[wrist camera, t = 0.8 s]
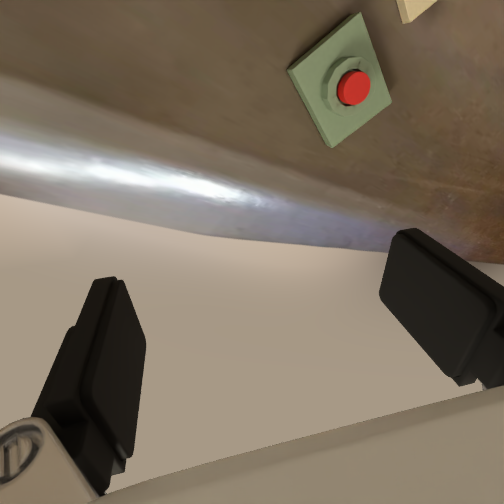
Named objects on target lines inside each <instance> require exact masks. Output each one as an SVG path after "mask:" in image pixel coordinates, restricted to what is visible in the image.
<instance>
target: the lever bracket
mask: <svg viewBox="0 0 504 504" xmlns="http://www.w3.org/2000/svg"><path fill="white" fill-rule="evenodd" d="M396 1H397V5H398V8H399V12H400V16H401V19H402V23H403V24H404V23H410V22H411V21H413V20H414V19H415V18H416V17H418V16H419V15H420V14H421V13H422V12H424V11H425V10H426V9H427V8H429V7H430V6H431V5H432V4H434V3H435V2H436V1H437V0H396Z"/></svg>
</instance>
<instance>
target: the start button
mask: <svg viewBox="0 0 504 504" xmlns="http://www.w3.org/2000/svg"><path fill="white" fill-rule="evenodd" d="M370 85H371V84H370V79H369V77H368V75H367V74H366V73H364V72H360V71H352V72H348V73H347V74H345V75H344V76H343V77H342V79H341V80H340V82H339V84H338V90H337V92H338V97H339V99H340V100H341V101H342V102H343V103H346V104H351V105H357V104H359V103H361V102H363V101H364V100H365V99H366V97H367V96H368V94H369V91H370Z"/></svg>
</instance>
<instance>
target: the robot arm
mask: <svg viewBox="0 0 504 504" xmlns="http://www.w3.org/2000/svg"><path fill="white" fill-rule="evenodd" d="M379 296H380V299H381V301H382V302H383V303H384V304H385V306H386V307H387V308H388V309H389V310H390V311H391V313H392V314H393V315H394V316H395V317H396V318H397V319H398V321H399V322H400V323H401V324H402V325H403V326H404V327H405V329H406V330H407V331H408V332H409V333H410V335H411V336H412V337H413V338H414V339H415V340H416V341H417V343H418V344H419V345H420V346H421V347H422V348H423V350H424V351H425V352H426V353H427V354H428V355H429V357H430V358H431V359H432V360H433V361H434V362H435V364H436V365H437V366H438V367H439V368H440V369H441V370H442V372H443V373H444V374H445V375H447V376H448V377H451V378H452V379H453V380H454V381H455V382H456V383H457V385H458V386H464V385H468V384H472V383H474V382H475V381H476V379H477V378H478V379H479V380H480V381H481V382H482V388H483V391H480V392H475V393H472V394H468V395H464V396H460V397H456V398H452V399H448V400H444V401H440V402H436V403H433V404H429V405H425V406H421V407H417V408H413V409H409V410H405V411H401V412H398V413H394V414H390V415H386V416H382V417H378V418H375V419H371V420H367V421H363V422H359V423H356V424H352V425H348V426H344V427H340V428H337V429H333V430H329V431H325V432H321V433H318V434H314V435H310V436H306V437H302V438H299V439H295V440H292V441H288V442H284V443H280V444H276V445H272V446H269V447H265V448H261V449H257V450H254V451H250V452H246V453H243V454H239V455H236V456H231V457H227V458H224V459H220V460H216V461H213V462H209V463H206V464H202V465H199V466H195V467H192V468H189V469H185V470H181V471H178V472H174V473H171V474H167V475H164V476H161V477H157V478H154V479H150V480H147V481H144V482H141V483H138V484H135V485H132V486H129V487H126V488H123V489H120V490H117V491H115V492H111V493H109V494H107V493H106V492H105V491H106V490H107V489H108V487H109V485H110V479H111V476H112V475H116V474H120V473H123V472H125V465H126V458H130V457H132V455H133V451H134V443H135V435H136V428H137V418H138V411H139V402H140V394H141V386H142V377H143V369H144V361H145V353H146V339H145V336H144V333H143V331H142V328H141V325H140V323H139V320H138V318H137V315H136V312H135V309H134V307H133V304H132V301H131V299H130V296H129V294H128V291H127V289H126V286H125V283H124V281H123V280H117V278H116V277H114V276H113V277H106V278H100V279H95V280H94V281H93V283H92V286H91V288H90V290H89V293H88V296H87V298H86V300H85V303H84V305H83V308H82V310H81V313H80V315H79V318H78V320H77V323H76V325H75V326H72V327H71V328H69V330H68V331H67V333H66V335H65V338H64V340H63V343H62V345H61V347H60V349H59V352H58V354H57V356H56V359H55V361H54V363H53V366H52V368H51V370H50V373H49V375H48V377H47V380H46V382H45V384H44V387H43V389H42V391H41V394H40V396H39V399H38V401H37V403H36V405H35V408H34V410H33V413H32V415H31V417H29V418H23V419H20V420H17V421H15V422H12V423H10V424H9V425H7V426H5V427H4V428H2V429H1V430H0V504H504V287H503V286H502V285H500V284H499V283H497V282H496V281H495V280H493V279H491V278H490V277H489V276H487V275H486V274H484V273H483V272H481V271H480V270H478V269H477V268H475V267H474V266H472V265H471V264H469V263H468V262H466V261H465V260H464V259H462V258H461V257H459V256H458V255H456V254H455V253H453V252H452V251H450V250H449V249H447V248H446V247H444V246H443V245H441V244H440V243H438V242H437V241H435V240H434V239H433V238H431V237H430V236H428V235H427V234H425V233H424V232H422V231H421V230H419V229H417V228H411V229H405V230H400V231H398V232H397V233H396V235H395V236H394V237H393V238H392V242H391V246H390V250H389V254H388V258H387V262H386V266H385V270H384V274H383V278H382V282H381V286H380V290H379Z"/></svg>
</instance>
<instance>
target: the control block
mask: <svg viewBox="0 0 504 504" xmlns="http://www.w3.org/2000/svg"><path fill="white" fill-rule="evenodd" d="M352 71H360V72H364V73H366V74H367V75H368V77H369V79H370V84H371V85H370V91H369V94H368V96H367V97H366V99H365V100H364V101H363V102H361V103H359V104H357V105H351V104H346V103H343V102H342V101H341V100H340V99H339V97H338V92H337V90H338V84H339V82H340V80H341V79H342V77H343V76H344V75H345V74H347V73H348V72H352ZM287 72H288V74H289V76H290V77H291V79H292V81H293V83H294V85H295V87H296V89H297V91H298V93H299V94H300V96H301V98H302V100H303V102H304V104H305V106H306V108H307V110H308V111H309V113H310V115H311V117H312V119H313V121H314V123H315V125H316V126H317V128H318V130H319V132H320V134H321V136H322V138H323V140H324V142H325V143H326V145H328V146H329V147H331V148H333V147H335V146H336V145H337V144H338V143H340V142H341V141H342V140H344V139H345V138H346V137H348V136H349V135H350V134H351V133H353V132H354V131H355V130H357V129H358V128H359V127H361V126H362V125H363V124H365V123H366V122H367V121H368V120H370V119H371V118H372V117H374V116H375V115H376V114H378V113H379V112H380V111H381V110H383V109H384V108H385V107H387V106H388V105H389V104H391V103H392V101H391V98H390V95H389V92H388V89H387V86H386V83H385V80H384V77H383V75H382V72H381V69H380V66H379V63H378V60H377V57H376V54H375V51H374V49H373V46H372V43H371V40H370V37H369V34H368V31H367V28H366V25H365V23H364V20H363V17H362V14H361V12H358V13H355V14H351V15H350V16H349V17H348V18H347V19H346V20H344V21H343V22H342V23H341V24H340V25H339V26H337V27H336V28H335V29H334V30H333V31H331V32H330V33H329V34H328V35H327V36H326V37H324V38H323V39H322V40H321V41H320V42H319V43H317V44H316V45H315V46H314V47H313V48H312V49H310V50H309V51H308V52H307V53H306V54H304V55H303V56H302V57H301V58H300V59H299V60H297V61H296V62H295V63H294V64H293V65H292V66H290V67H289V68H288V69H287Z"/></svg>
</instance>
